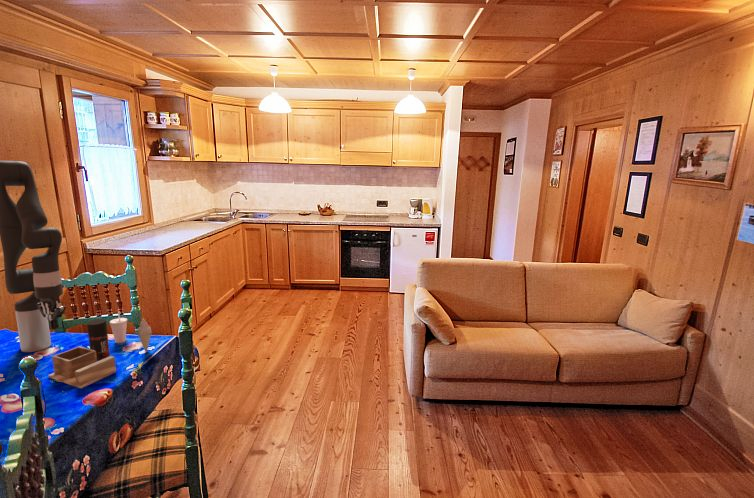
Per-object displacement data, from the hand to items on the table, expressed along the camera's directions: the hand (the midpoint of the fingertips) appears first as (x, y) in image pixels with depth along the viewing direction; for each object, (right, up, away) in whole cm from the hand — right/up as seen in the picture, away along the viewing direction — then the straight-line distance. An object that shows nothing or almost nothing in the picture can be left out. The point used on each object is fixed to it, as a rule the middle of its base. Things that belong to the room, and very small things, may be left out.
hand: (54, 328), depth 135 cm
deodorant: (+9, -14, +11) cm, 20 cm away
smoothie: (+7, -11, +25) cm, 29 cm away
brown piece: (+12, -16, -2) cm, 20 cm away
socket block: (+9, -15, -1) cm, 17 cm away
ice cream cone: (+23, -13, +18) cm, 32 cm away
